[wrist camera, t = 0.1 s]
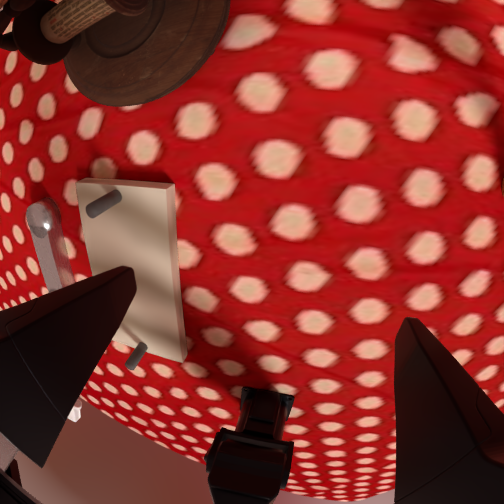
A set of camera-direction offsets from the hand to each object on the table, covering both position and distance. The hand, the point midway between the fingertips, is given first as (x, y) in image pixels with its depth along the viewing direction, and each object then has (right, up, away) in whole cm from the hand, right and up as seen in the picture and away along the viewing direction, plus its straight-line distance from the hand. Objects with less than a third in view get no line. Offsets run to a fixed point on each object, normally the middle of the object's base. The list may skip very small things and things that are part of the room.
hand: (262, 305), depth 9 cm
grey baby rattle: (-24, +1, +22) cm, 33 cm away
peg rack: (-12, -1, +20) cm, 23 cm away
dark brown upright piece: (-9, +20, +8) cm, 23 cm away
